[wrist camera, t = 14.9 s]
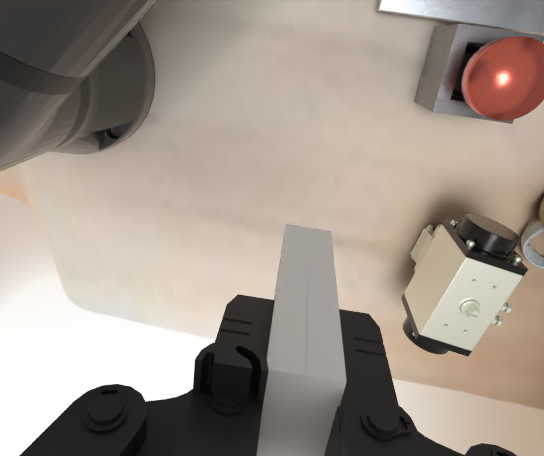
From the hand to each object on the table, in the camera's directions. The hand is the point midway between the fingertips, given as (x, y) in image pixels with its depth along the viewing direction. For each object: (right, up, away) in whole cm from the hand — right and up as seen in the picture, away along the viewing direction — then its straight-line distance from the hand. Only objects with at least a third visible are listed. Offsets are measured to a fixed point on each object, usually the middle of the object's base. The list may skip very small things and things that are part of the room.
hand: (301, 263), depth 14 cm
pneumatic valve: (+16, -1, +28) cm, 32 cm away
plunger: (+15, +14, +20) cm, 29 cm away
